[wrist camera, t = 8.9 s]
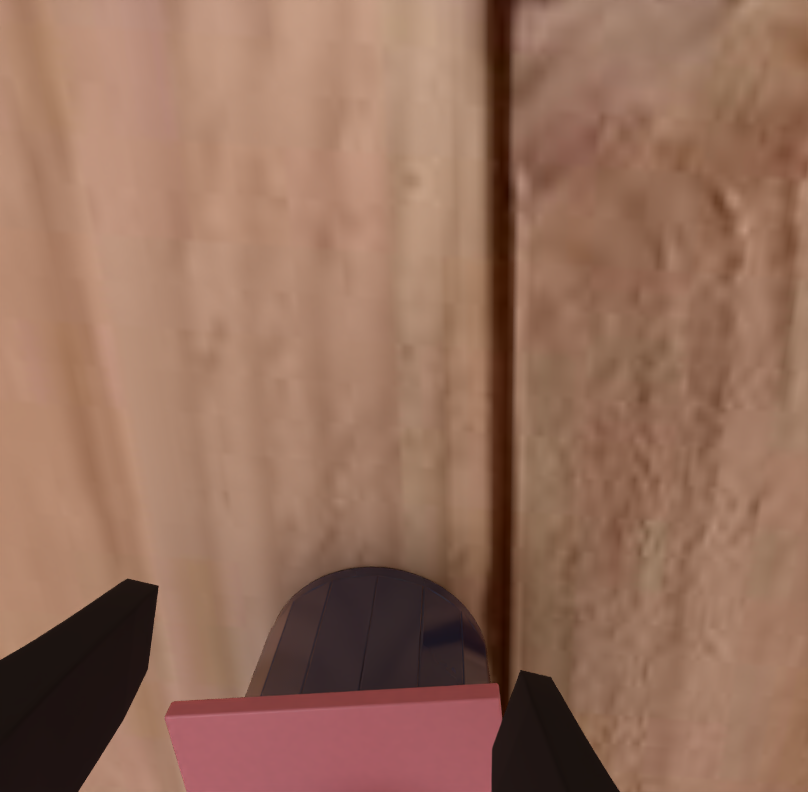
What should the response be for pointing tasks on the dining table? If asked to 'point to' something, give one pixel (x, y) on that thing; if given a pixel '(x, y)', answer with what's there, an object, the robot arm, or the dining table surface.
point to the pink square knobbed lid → (340, 741)
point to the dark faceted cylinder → (370, 637)
